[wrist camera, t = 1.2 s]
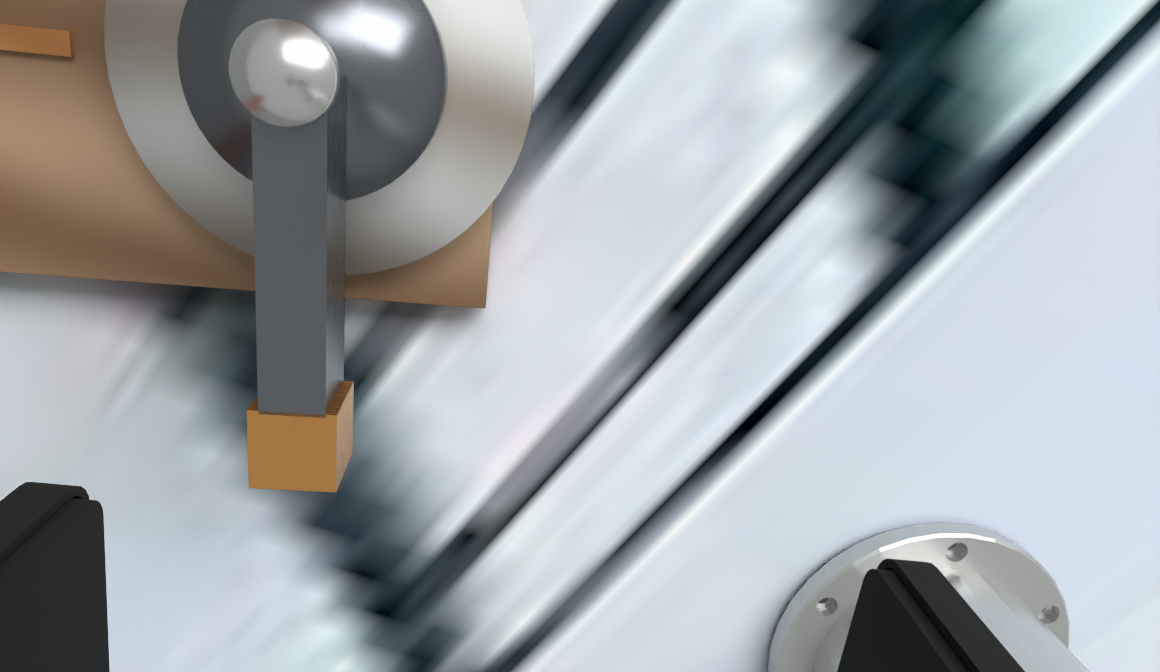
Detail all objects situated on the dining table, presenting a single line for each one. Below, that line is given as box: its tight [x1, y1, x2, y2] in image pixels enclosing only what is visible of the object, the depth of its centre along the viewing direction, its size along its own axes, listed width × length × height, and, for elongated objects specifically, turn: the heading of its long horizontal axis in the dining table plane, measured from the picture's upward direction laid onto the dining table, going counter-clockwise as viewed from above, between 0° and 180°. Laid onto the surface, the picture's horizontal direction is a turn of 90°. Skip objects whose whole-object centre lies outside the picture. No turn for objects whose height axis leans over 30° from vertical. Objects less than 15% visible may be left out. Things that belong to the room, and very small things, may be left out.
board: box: [0, 0, 534, 308], centre depth 23 cm, size 14×29×3 cm, turn 84°
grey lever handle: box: [177, 0, 448, 492], centre depth 22 cm, size 15×7×4 cm, turn 174°
